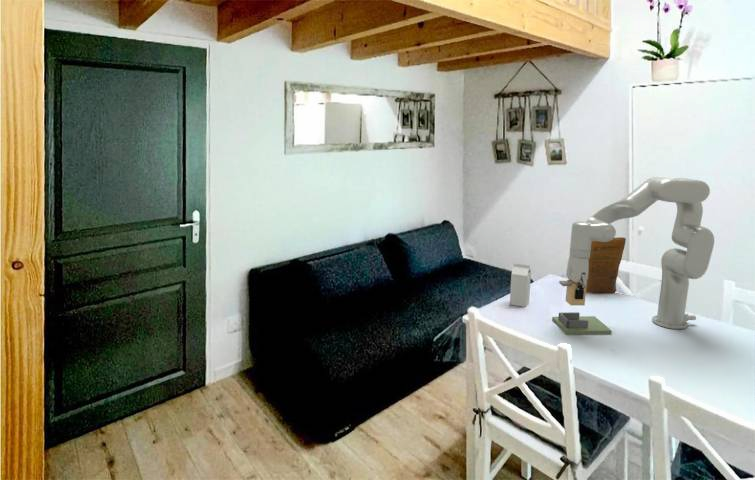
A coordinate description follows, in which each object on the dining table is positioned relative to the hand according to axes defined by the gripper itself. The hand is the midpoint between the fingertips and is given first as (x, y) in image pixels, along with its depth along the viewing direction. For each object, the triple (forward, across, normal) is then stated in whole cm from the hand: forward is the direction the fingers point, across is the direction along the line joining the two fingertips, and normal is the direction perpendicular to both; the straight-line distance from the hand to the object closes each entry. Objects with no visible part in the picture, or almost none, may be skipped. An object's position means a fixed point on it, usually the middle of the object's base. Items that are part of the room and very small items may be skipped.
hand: (575, 296), depth 193 cm
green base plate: (+13, 0, +3) cm, 14 cm away
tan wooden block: (+3, 0, -2) cm, 3 cm away
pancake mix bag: (+13, -42, +31) cm, 54 cm away
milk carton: (+14, -28, -14) cm, 34 cm away
